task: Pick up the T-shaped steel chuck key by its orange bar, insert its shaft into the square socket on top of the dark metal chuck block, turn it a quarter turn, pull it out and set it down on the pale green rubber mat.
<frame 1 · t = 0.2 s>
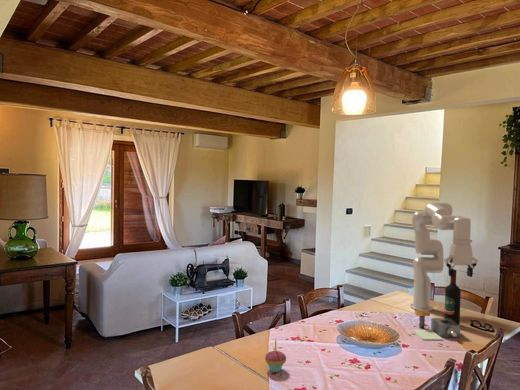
hand: (460, 276, 191), 31 cm above the table, fingers open, 9 cm apart
cupcake: (275, 369, 155), on the table
mat: (427, 335, 193), on the table
wine bottle: (451, 324, 209), on the table
chuck block: (445, 333, 196), on the table
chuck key: (421, 327, 203), on the table
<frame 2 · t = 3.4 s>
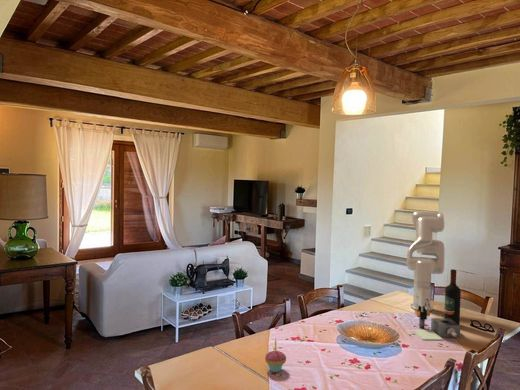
hand: (422, 317, 203), 5 cm above the table, fingers closed on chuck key, 2 cm apart
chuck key: (421, 327, 203), on the table, touching gripper
everything else where it was.
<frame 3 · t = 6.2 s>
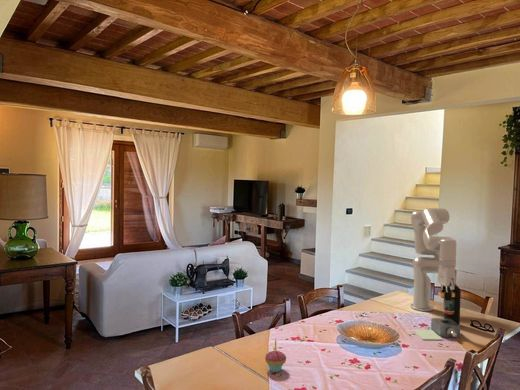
hand: (446, 298, 195), 18 cm above the table, fingers closed on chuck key, 2 cm apart
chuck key: (446, 309, 196), point 12 cm above the table, touching gripper
everything else where it was.
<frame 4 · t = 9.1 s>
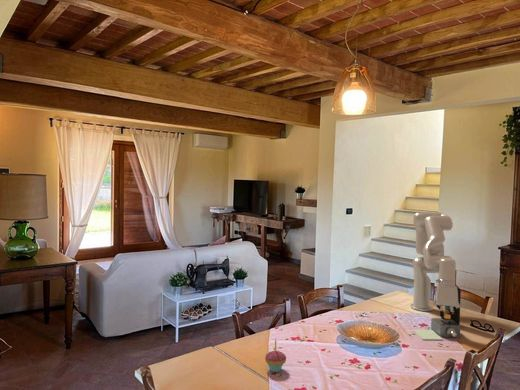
hand: (445, 318, 196), 8 cm above the table, fingers closed on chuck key, 2 cm apart
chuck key: (445, 329, 196), point 2 cm above the table, touching chuck block, gripper
everything else where it was.
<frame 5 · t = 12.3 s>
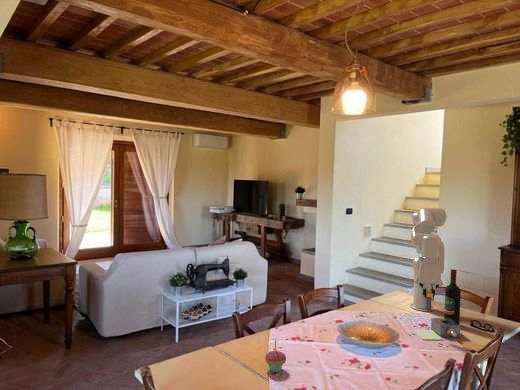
hand: (428, 296, 192), 20 cm above the table, fingers closed on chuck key, 2 cm apart
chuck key: (428, 309, 193), point 13 cm above the table, touching gripper
everything else where it was.
when the fingers open (7 cm above the table, at t = 14.7 s): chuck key stays where it is, resting on mat.
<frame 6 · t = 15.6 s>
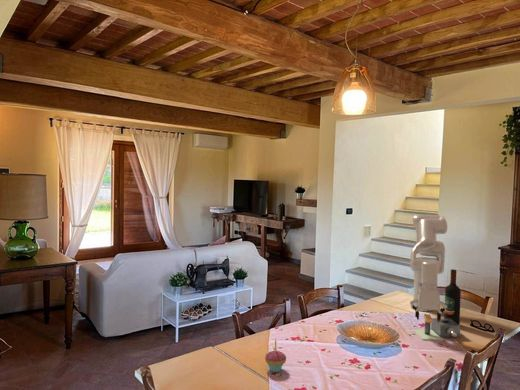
hand: (427, 319, 193), 8 cm above the table, fingers open, 9 cm apart
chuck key: (427, 334, 193), point 1 cm above the table, touching mat
everything else where it was.
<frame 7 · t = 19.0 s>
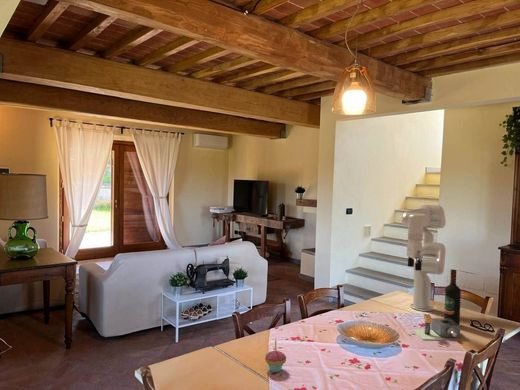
hand: (414, 268, 209), 30 cm above the table, fingers open, 9 cm apart
nothing on the table moved.
at the end: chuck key inside the target area on the mat (0.0 cm from its centre), point 0.6 cm above the mat's base; the gripper is holding nothing; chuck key touching mat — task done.
